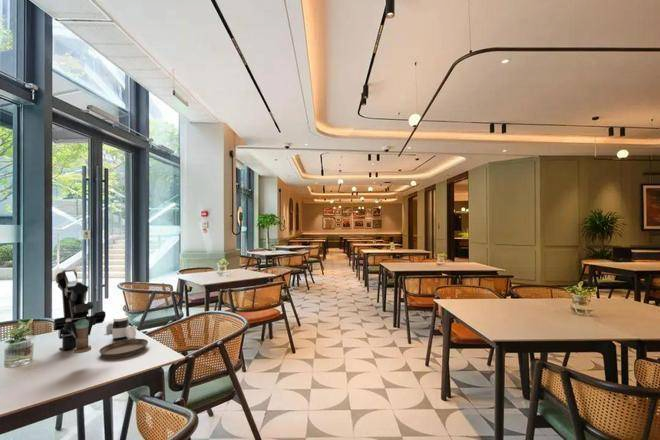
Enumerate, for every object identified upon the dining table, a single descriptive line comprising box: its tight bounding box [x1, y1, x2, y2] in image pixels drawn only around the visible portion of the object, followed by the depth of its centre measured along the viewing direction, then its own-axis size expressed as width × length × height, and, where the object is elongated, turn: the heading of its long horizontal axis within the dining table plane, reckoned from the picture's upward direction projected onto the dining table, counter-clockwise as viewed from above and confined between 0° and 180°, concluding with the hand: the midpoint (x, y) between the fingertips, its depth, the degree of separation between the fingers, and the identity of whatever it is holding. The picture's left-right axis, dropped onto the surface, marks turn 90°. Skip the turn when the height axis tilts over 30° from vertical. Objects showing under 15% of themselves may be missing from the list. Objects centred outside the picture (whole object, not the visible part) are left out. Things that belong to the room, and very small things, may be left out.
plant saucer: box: [98, 338, 149, 359], centre depth 167 cm, size 21×21×3 cm
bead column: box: [72, 319, 92, 354], centre depth 150 cm, size 6×6×14 cm
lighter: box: [105, 322, 113, 334], centre depth 200 cm, size 7×2×8 cm, turn 130°
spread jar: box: [112, 315, 137, 341], centre depth 188 cm, size 12×11×12 cm
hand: (82, 336), depth 149 cm, fingers closed on bead column, 4 cm apart
